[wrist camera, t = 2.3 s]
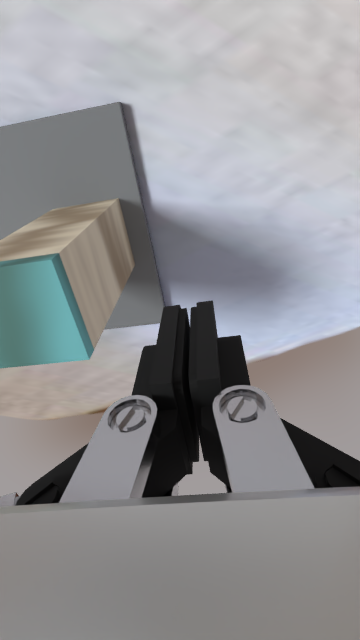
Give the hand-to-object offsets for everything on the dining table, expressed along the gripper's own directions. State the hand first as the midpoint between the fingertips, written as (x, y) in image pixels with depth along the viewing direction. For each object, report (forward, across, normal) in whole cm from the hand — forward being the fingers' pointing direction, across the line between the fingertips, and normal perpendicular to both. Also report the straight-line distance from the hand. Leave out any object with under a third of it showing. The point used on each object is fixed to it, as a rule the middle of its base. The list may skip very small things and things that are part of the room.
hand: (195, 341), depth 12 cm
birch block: (+15, +8, 0) cm, 17 cm away
